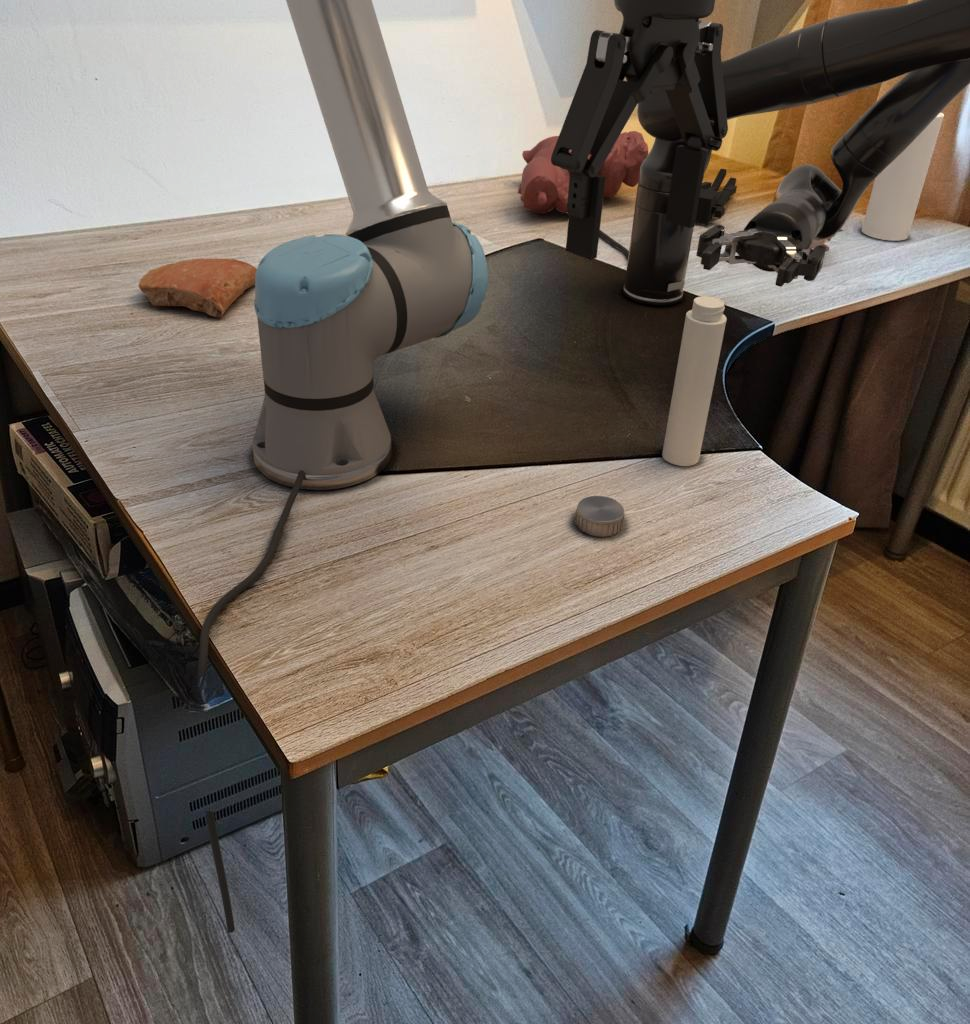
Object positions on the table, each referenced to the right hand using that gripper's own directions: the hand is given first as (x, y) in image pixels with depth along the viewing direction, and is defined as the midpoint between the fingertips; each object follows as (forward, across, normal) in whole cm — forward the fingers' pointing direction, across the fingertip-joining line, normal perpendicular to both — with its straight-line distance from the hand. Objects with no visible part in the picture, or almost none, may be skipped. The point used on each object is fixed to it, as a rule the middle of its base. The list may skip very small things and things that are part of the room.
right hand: (743, 269), depth 109 cm
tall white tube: (-91, +3, +19) cm, 93 cm away
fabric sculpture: (-70, -53, +19) cm, 90 cm away
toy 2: (-65, -7, +19) cm, 68 cm away
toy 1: (-88, -30, +19) cm, 94 cm away
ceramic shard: (+8, -78, +19) cm, 81 cm away
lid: (+30, -2, +17) cm, 35 cm away
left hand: (+30, -3, -11) cm, 32 cm away
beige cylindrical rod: (+12, 0, +19) cm, 22 cm away
